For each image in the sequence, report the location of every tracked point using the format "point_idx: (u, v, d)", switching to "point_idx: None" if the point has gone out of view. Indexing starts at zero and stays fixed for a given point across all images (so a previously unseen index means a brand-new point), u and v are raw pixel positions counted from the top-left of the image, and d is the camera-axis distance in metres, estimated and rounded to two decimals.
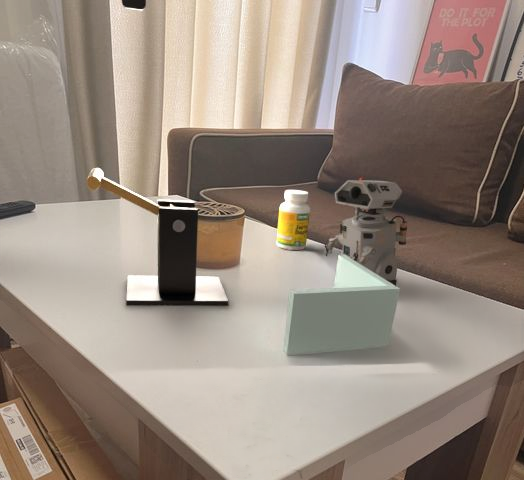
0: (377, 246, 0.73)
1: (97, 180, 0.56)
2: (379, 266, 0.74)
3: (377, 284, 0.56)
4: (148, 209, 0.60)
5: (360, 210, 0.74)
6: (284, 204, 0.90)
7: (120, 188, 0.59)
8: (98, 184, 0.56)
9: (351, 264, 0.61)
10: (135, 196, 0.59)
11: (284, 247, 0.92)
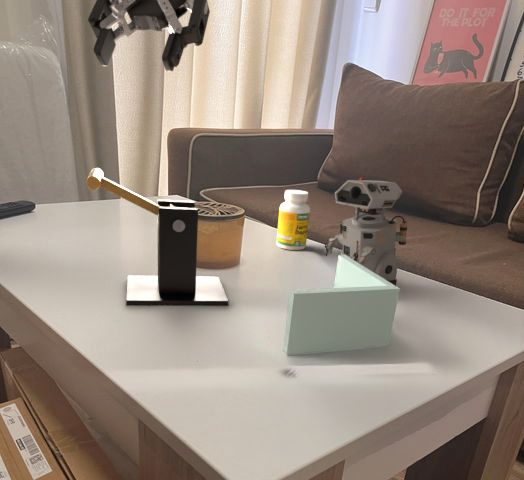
0: (377, 246, 0.73)
1: (97, 180, 0.56)
2: (379, 266, 0.74)
3: (377, 284, 0.56)
4: (148, 209, 0.60)
5: (360, 210, 0.74)
6: (284, 204, 0.90)
7: (120, 188, 0.59)
8: (98, 184, 0.56)
9: (351, 264, 0.61)
10: (135, 196, 0.59)
11: (284, 247, 0.92)
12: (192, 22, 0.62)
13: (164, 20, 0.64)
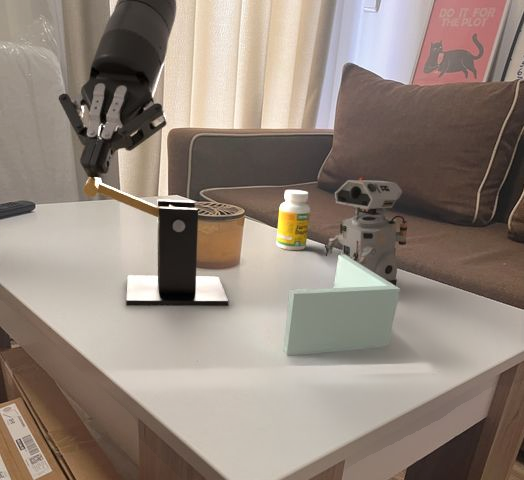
0: (377, 246, 0.73)
1: (94, 186, 0.56)
2: (379, 266, 0.74)
3: (377, 284, 0.56)
4: (147, 211, 0.60)
5: (360, 210, 0.74)
6: (284, 204, 0.90)
7: (118, 192, 0.59)
8: (95, 190, 0.56)
9: (351, 264, 0.61)
10: (133, 199, 0.60)
11: (284, 247, 0.92)
12: (124, 129, 0.58)
13: None
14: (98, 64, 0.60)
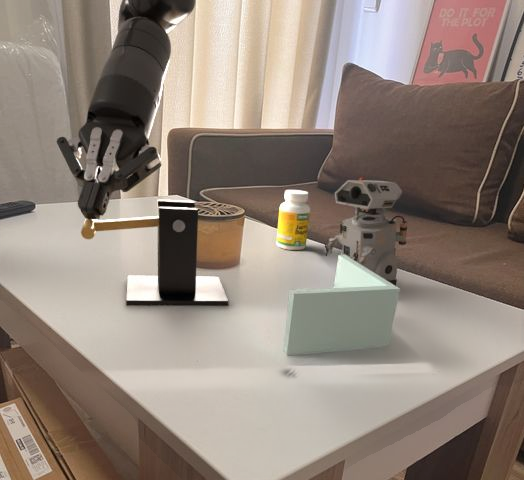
0: (377, 246, 0.73)
1: (89, 228, 0.58)
2: (379, 266, 0.74)
3: (377, 284, 0.56)
4: (147, 226, 0.61)
5: (360, 210, 0.74)
6: (284, 204, 0.90)
7: (114, 222, 0.60)
8: (92, 231, 0.58)
9: (351, 264, 0.61)
10: (130, 221, 0.61)
11: (284, 247, 0.92)
12: (120, 172, 0.60)
13: None
14: (95, 108, 0.62)
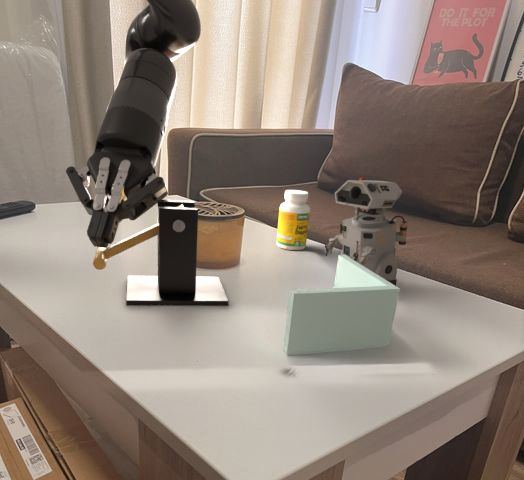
0: (377, 246, 0.73)
1: (99, 259, 0.59)
2: (379, 266, 0.74)
3: (377, 284, 0.56)
4: (151, 236, 0.62)
5: (360, 210, 0.74)
6: (284, 204, 0.90)
7: (120, 244, 0.61)
8: (103, 260, 0.59)
9: (351, 264, 0.61)
10: (134, 238, 0.61)
11: (284, 247, 0.92)
12: (128, 202, 0.62)
13: None
14: (103, 139, 0.63)
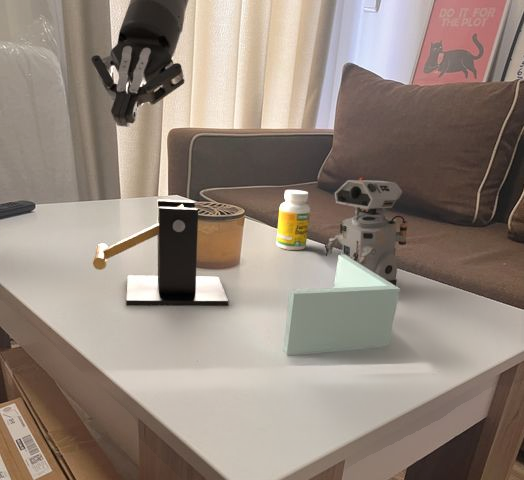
0: (377, 246, 0.73)
1: (99, 259, 0.59)
2: (379, 266, 0.74)
3: (377, 284, 0.56)
4: (151, 236, 0.62)
5: (360, 210, 0.74)
6: (284, 204, 0.90)
7: (120, 244, 0.61)
8: (103, 260, 0.59)
9: (351, 264, 0.61)
10: (134, 238, 0.61)
11: (284, 247, 0.92)
12: (149, 84, 0.67)
13: None
14: (126, 29, 0.69)
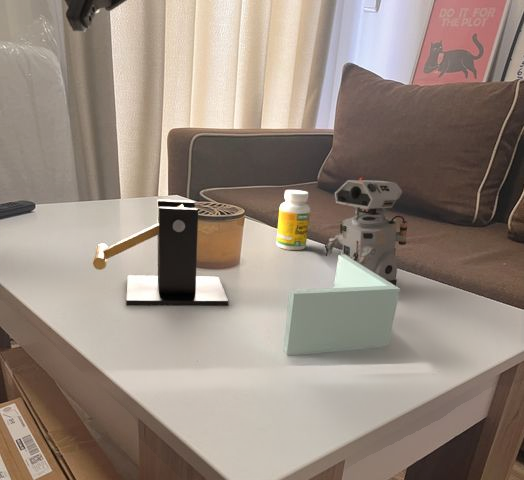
0: (377, 246, 0.73)
1: (99, 259, 0.59)
2: (379, 266, 0.74)
3: (377, 284, 0.56)
4: (151, 236, 0.62)
5: (360, 210, 0.74)
6: (284, 204, 0.90)
7: (120, 244, 0.61)
8: (103, 260, 0.59)
9: (351, 264, 0.61)
10: (134, 238, 0.61)
11: (284, 247, 0.92)
12: None
13: None
14: None
